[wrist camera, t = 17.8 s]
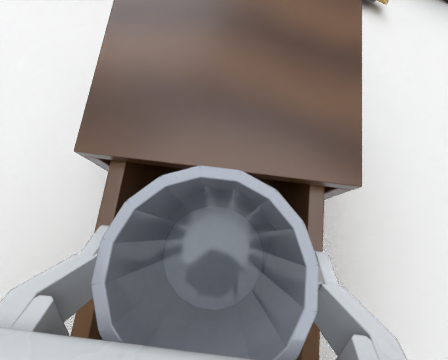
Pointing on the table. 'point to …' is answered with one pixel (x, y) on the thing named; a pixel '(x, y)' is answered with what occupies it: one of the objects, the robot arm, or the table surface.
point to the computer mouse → (384, 1)
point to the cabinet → (231, 89)
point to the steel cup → (207, 268)
